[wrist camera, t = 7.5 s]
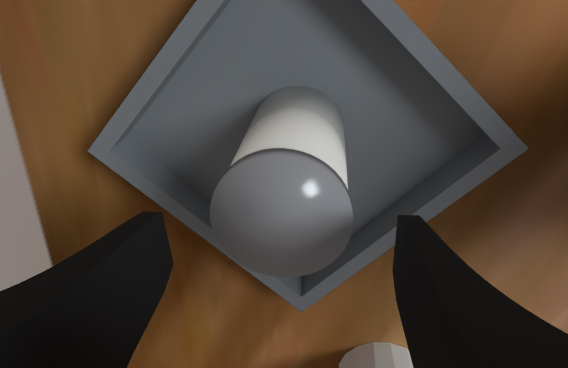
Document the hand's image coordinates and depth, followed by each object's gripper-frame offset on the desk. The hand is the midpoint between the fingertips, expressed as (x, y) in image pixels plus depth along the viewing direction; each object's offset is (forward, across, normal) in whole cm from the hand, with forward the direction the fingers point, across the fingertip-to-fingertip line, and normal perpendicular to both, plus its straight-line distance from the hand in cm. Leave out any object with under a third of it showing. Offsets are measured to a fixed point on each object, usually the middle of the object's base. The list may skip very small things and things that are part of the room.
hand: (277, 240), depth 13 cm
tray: (+9, 0, 0) cm, 9 cm away
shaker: (+9, 0, 0) cm, 9 cm away
